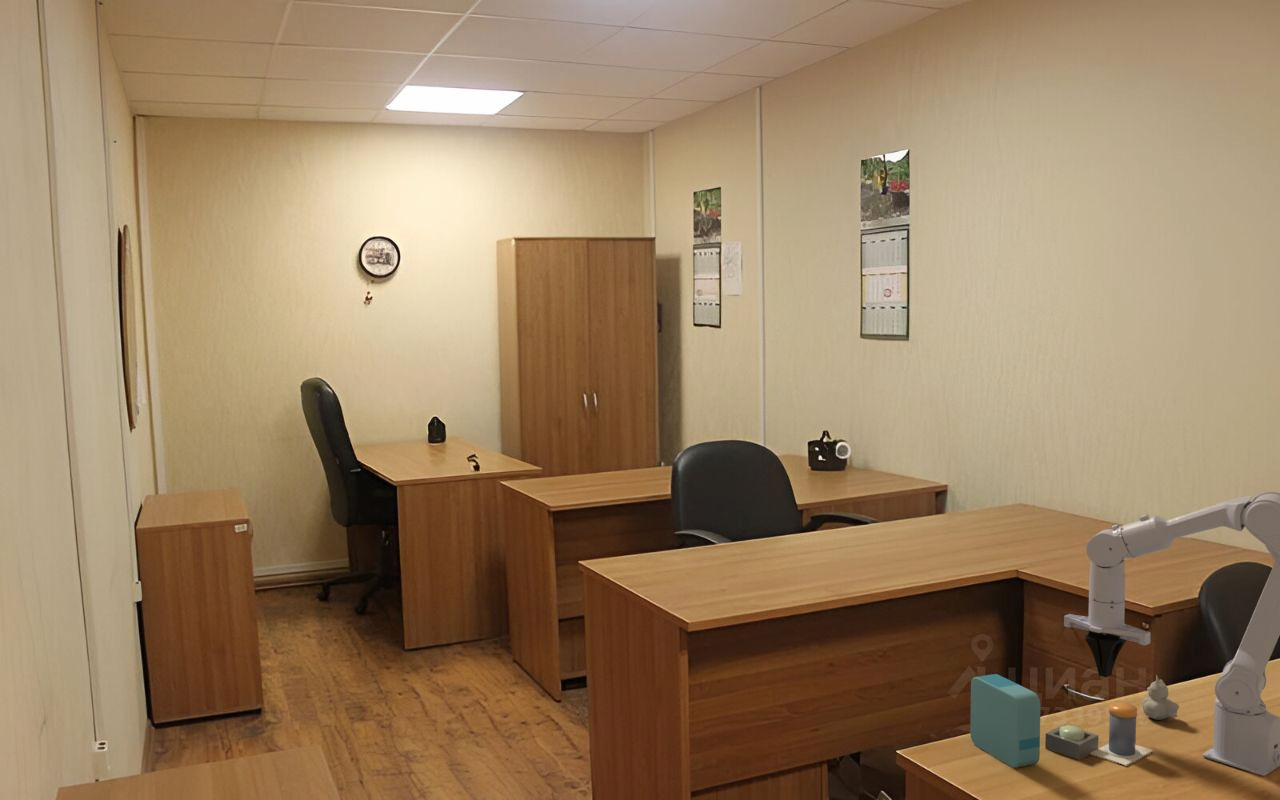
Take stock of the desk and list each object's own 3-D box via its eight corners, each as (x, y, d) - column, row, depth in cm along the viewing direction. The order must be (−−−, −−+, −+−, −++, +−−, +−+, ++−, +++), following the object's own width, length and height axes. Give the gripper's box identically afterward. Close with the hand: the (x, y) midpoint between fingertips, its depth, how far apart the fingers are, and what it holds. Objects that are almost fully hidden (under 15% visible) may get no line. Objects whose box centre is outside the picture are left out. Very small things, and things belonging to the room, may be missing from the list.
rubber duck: (1152, 710, 188) (1154, 668, 188) (1186, 722, 183) (1188, 679, 182) (1134, 716, 186) (1135, 673, 185) (1167, 728, 180) (1169, 684, 179)
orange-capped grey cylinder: (1140, 751, 170) (1141, 707, 169) (1129, 758, 167) (1130, 713, 167) (1115, 743, 173) (1116, 700, 172) (1103, 750, 170) (1104, 706, 170)
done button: (1088, 747, 171) (1088, 730, 171) (1076, 753, 169) (1076, 736, 169) (1067, 740, 174) (1067, 723, 174) (1055, 746, 172) (1055, 729, 172)
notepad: (1152, 752, 170) (1153, 749, 170) (1125, 766, 165) (1125, 764, 165) (1117, 740, 175) (1117, 738, 175) (1090, 754, 170) (1090, 752, 170)
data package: (1040, 767, 165) (1041, 694, 164) (1017, 771, 164) (1018, 698, 163) (991, 738, 177) (992, 671, 176) (969, 742, 175) (970, 674, 174)
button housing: (1098, 750, 171) (1098, 735, 171) (1079, 760, 168) (1079, 744, 167) (1064, 739, 176) (1064, 724, 176) (1045, 748, 172) (1045, 733, 172)
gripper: (1055, 594, 181) (1054, 669, 182) (1137, 612, 170) (1135, 691, 171) (1076, 587, 186) (1074, 660, 187) (1157, 604, 174) (1155, 682, 175)
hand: (1105, 675), depth 179 cm, fingers closed
